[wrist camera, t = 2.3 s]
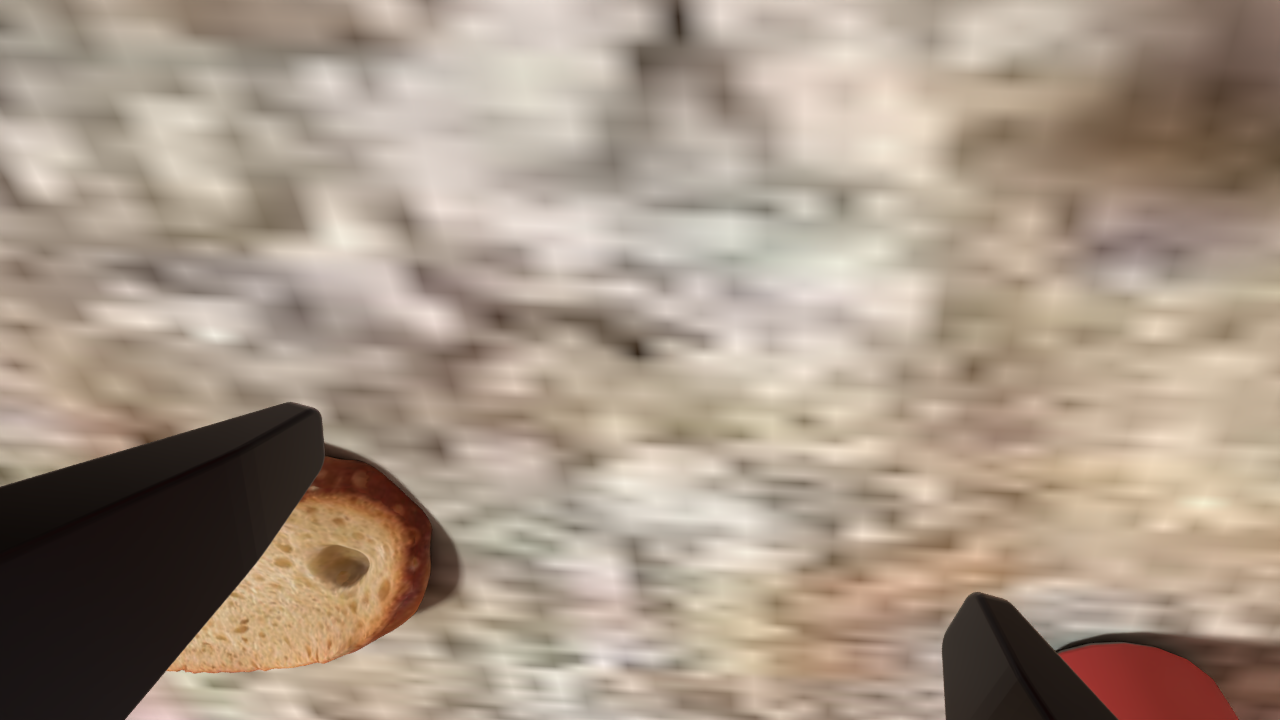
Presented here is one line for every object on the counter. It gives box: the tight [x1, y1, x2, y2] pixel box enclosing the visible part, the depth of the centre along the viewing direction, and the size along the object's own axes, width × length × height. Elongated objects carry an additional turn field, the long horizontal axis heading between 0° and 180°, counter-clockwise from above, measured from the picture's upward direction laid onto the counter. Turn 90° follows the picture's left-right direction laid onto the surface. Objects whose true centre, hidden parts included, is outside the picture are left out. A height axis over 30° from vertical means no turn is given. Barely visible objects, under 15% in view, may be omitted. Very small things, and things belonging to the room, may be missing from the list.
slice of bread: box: [166, 456, 432, 674], centre depth 29 cm, size 18×18×4 cm
